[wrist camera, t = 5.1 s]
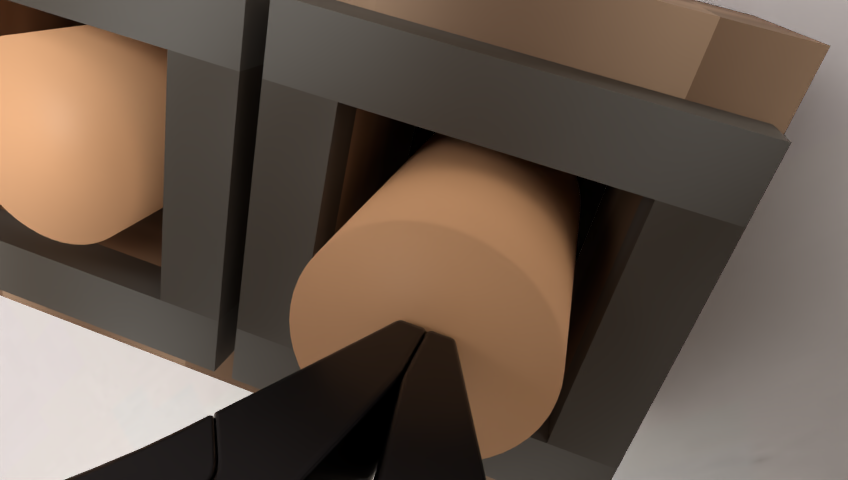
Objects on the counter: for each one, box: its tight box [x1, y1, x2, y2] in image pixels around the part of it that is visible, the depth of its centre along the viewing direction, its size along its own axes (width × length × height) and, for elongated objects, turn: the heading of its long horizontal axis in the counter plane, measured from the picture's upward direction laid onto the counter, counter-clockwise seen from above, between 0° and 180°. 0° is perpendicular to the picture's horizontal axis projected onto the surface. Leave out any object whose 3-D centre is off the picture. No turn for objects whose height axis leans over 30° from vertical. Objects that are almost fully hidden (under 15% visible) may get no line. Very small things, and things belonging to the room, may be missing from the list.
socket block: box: [0, 0, 830, 480], centre depth 14 cm, size 16×10×6 cm, turn 77°
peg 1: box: [0, 25, 168, 245], centre depth 14 cm, size 4×4×6 cm
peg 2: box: [289, 132, 581, 459], centre depth 11 cm, size 4×4×6 cm
